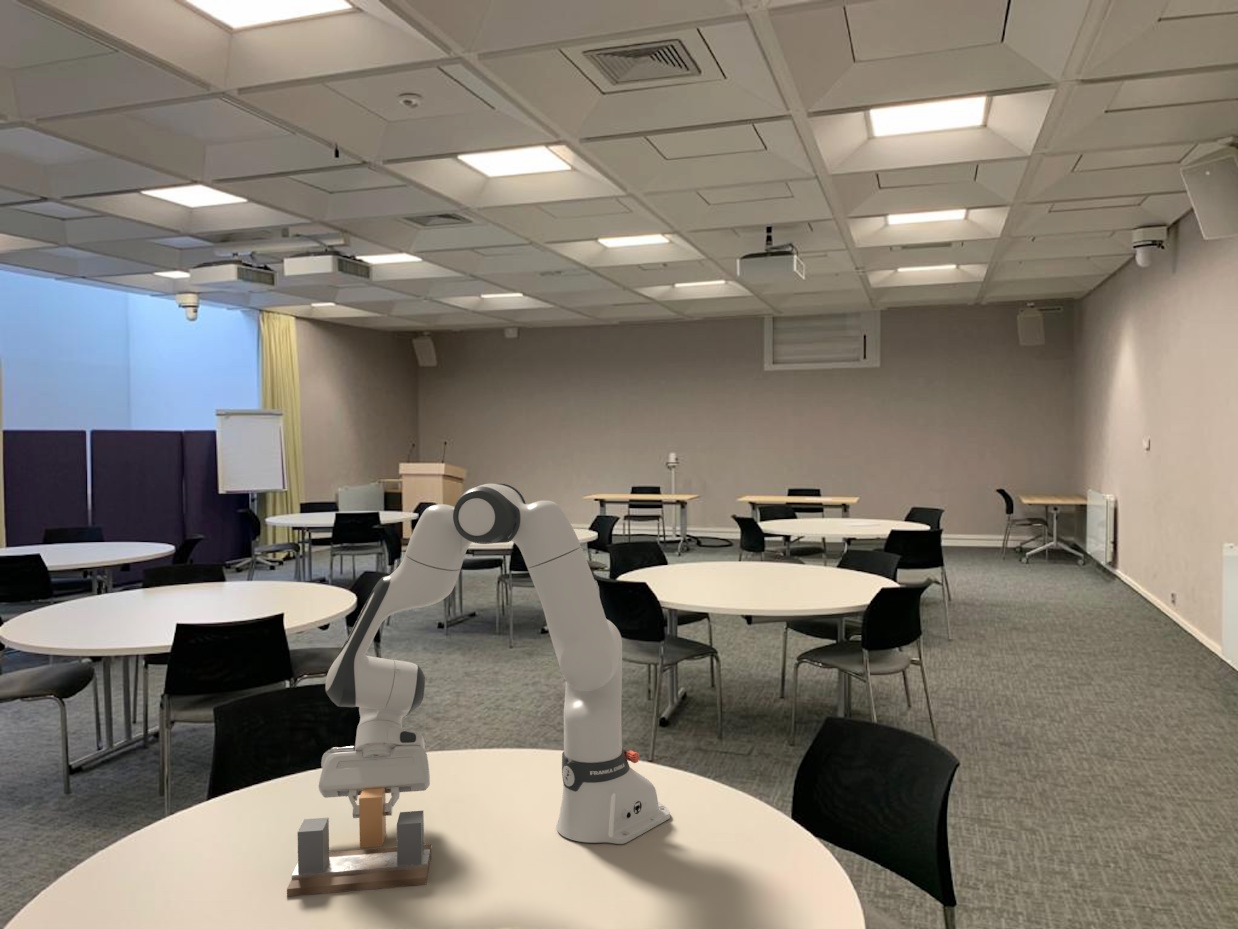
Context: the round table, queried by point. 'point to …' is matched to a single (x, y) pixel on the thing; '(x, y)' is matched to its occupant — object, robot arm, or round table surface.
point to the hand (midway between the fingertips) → (372, 815)
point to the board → (359, 877)
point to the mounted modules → (317, 842)
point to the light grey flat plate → (363, 864)
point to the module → (372, 817)
